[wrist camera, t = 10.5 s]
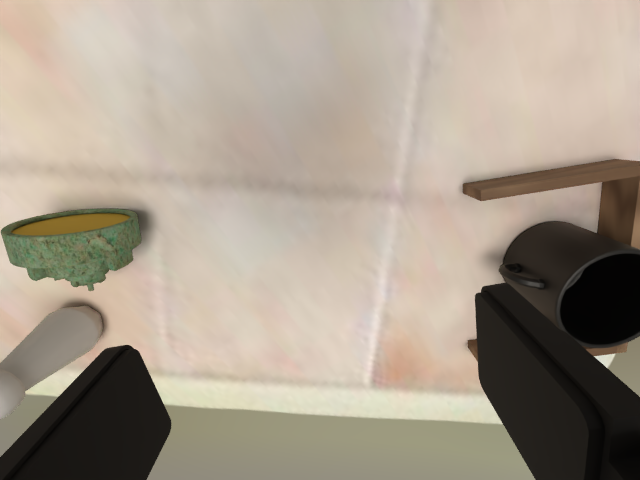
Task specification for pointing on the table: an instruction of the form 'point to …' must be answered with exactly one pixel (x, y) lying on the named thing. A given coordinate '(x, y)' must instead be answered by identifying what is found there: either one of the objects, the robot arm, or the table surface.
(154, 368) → the table surface
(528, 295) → the mug
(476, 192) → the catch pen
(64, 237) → the decorative artifact
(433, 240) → the table surface
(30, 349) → the salt shaker
